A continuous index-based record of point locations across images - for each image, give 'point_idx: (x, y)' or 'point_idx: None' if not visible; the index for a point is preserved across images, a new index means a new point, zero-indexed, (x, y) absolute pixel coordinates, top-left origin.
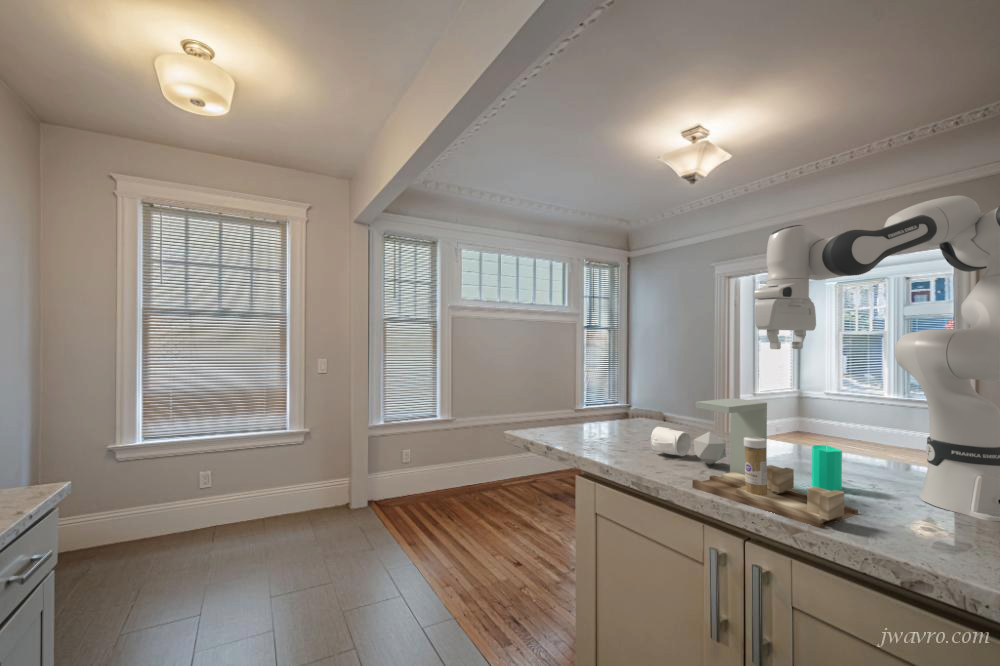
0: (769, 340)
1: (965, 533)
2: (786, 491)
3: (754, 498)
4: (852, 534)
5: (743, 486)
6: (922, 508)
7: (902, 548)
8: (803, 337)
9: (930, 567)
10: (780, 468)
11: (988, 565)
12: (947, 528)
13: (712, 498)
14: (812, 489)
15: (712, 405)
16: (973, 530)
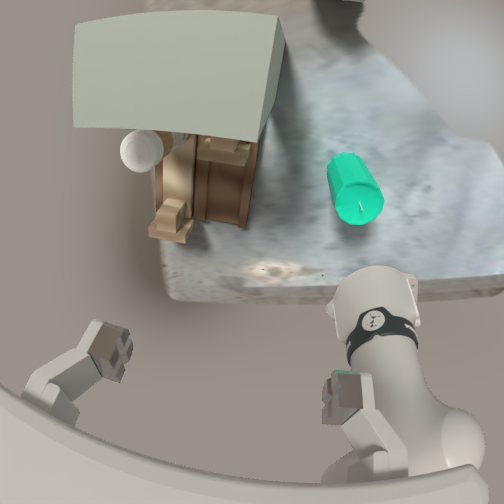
0: (67, 353)
1: (291, 292)
2: (249, 143)
3: None
4: None
5: None
6: (352, 263)
7: (194, 261)
8: (356, 450)
9: (173, 276)
10: (227, 150)
11: (218, 301)
12: (293, 282)
13: None
14: (159, 217)
15: (75, 77)
16: (307, 296)
